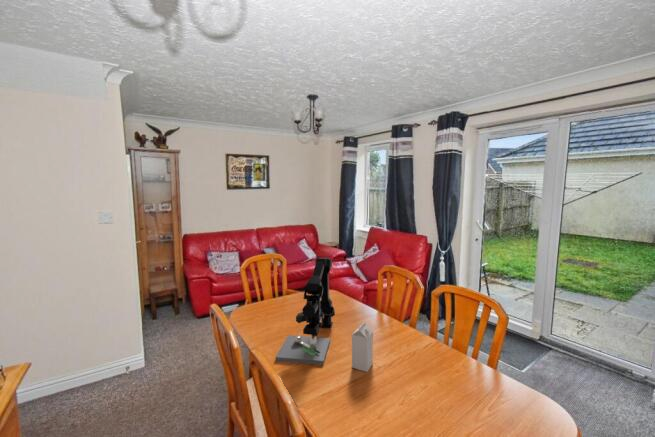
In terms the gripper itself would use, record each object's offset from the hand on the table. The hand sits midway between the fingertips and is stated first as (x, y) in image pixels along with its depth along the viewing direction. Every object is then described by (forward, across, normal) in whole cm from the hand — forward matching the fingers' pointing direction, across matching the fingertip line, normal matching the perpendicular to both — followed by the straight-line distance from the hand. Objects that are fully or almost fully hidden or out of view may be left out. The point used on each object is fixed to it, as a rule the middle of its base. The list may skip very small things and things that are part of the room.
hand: (314, 339), depth 143 cm
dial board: (+6, +1, -5) cm, 8 cm away
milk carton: (+6, +8, +23) cm, 25 cm away
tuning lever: (+4, +1, -3) cm, 5 cm away
